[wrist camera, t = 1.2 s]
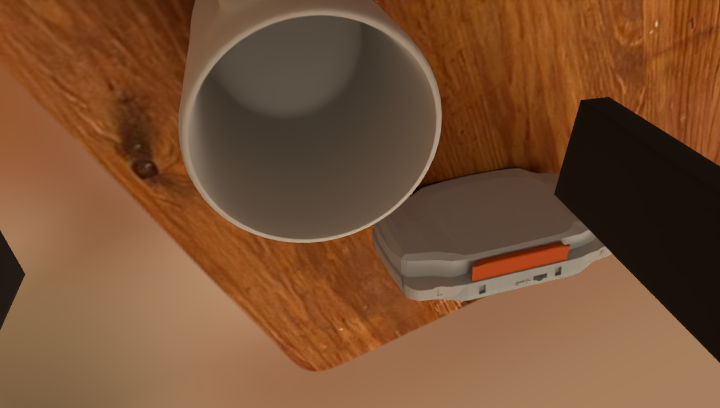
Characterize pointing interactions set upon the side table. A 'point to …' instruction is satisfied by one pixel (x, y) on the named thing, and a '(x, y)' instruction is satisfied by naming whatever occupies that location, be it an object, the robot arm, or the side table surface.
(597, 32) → the side table surface
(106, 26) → the side table surface
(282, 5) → the mug
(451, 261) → the grey case
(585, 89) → the side table surface
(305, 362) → the side table surface
